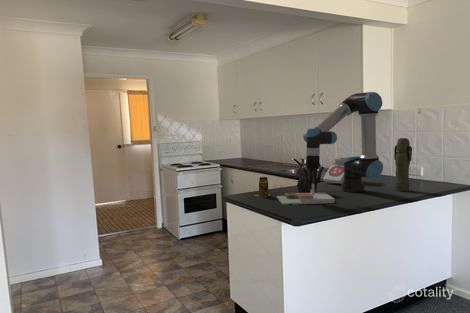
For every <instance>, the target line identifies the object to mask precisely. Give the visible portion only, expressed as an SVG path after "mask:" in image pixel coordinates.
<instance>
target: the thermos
mask: <svg viewBox="0 0 470 313" xmlns="http://www.w3.org/2000/svg"><path fill="white" fill-rule="evenodd" d="M410 143H411V142H410V140H409V139H408V137H406V138H405V137H403V138H402V137H400V138H398V139H397V142H396V145H394V153H393V156H394V161H395V163H394V164H395V179H394V184H393V185H394V191H396V192H409V191H410V189H409V188H410V179H409V177H410V176H409V174H410V172H409V171H410V166H411V161H412V156H413V155H412V154H413V146H411V144H410Z"/></svg>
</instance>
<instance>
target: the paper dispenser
mask: <svg viewBox="0 0 470 313" xmlns="http://www.w3.org/2000/svg"><path fill="white" fill-rule="evenodd" d="M346 157H347V156H346ZM346 157H345V156H343V157H342V156H339V157H337V158H335V159H334V162H332V164H330V166H329V168H328V170H327V171H326V173H325V174H324V176H323V178H322V179H323V182H326V183H333V184H340V185H342V182H343V180H344V159H345V158H346Z"/></svg>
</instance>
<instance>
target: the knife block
mask: <svg viewBox="0 0 470 313" xmlns="http://www.w3.org/2000/svg"><path fill="white" fill-rule="evenodd" d="M305 164H306V162H299V168H298V170H297V176H298V178H299V179H298V180H297V184H296V187H297V191H298V193H311V190H310V189H309V183H306V180H305V176H304V171H303V169H302V167H304V166H305ZM306 171H307V175H308V180H309V170H308V168H307V167H306ZM317 176H318V174H317V175H316V180H317ZM312 184H313V171H312ZM317 186H318V183H317V184H316V189H315V190H314V193H317V190H318V187H317Z"/></svg>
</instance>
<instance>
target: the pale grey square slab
mask: <svg viewBox="0 0 470 313" xmlns="http://www.w3.org/2000/svg"><path fill="white" fill-rule="evenodd" d="M296 193H297V194H299V192H296ZM310 194H311V193H310ZM299 199H300V198H299ZM300 200H301V201H303V202H304V204H303V205H310V204H311V205H312V204H313V205H315V204H335V202H336V200H335V198H334V197H333V196H331V195H329V194H327V193H326V192H324V191H323V192H322V191H321V192H316V193H314V195H313V199H300Z"/></svg>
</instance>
